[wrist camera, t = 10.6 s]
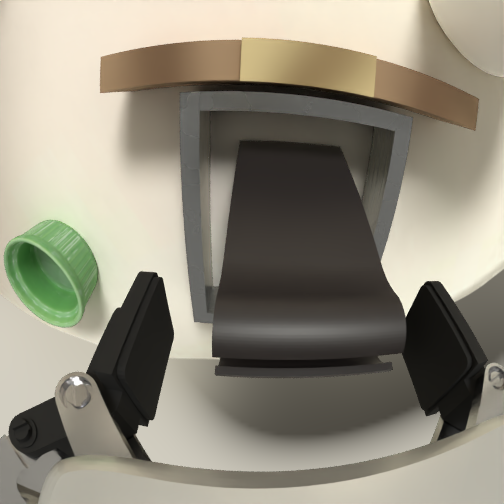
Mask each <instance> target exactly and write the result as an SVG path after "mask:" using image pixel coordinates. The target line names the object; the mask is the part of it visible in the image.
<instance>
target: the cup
mask: <svg viewBox="0 0 504 504" xmlns="http://www.w3.org/2000/svg"><path fill="white" fill-rule="evenodd" d="M429 3H430V6H431V8H432V11H433V13H434V15H435V17H436V19H437V21H438V23H439V24H440V26H441V28H442V29H443V31H444V33H445V34H446V35H447V37H448V38H449V40H450V41H451V42H452V43H453V45H454V46H455V47H456V48H457V49H458V51H459V52H460V53H461V54H462V55H463V56H464V57H465V58H466V59H467V60H469V61H470V62H471V63H472V64H474V65H475V66H476V67H478V68H479V69H481V70H482V71H484V72H486V73H488V74H491V75H494V76H498V77H504V0H429Z"/></svg>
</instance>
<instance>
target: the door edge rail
mask: <svg viewBox="0 0 504 504" xmlns="http://www.w3.org/2000/svg"><path fill="white" fill-rule="evenodd" d="M376 58H377V56H373V55H369V54H365V53H361V52H357V51H352V50H348V49H343V48H338V47H333V46H327V45H321V44H315V43H308V42H300V41H291V40H280V39H266V38H242V40H211V41H194V42H183V43H173V44H165V45H158V46H151V47H145V48H139V49H134V50H129V51H124V52H120V53H115V54H111V55H107V56H103V57H101V67H100V93H107V92H125V91H138V90H146V89H154V88H164V87H175V86H190V85H262V86H277V87H289V88H299V89H307V90H315V91H322V92H329V93H335V94H341V95H346V96H352V97H357V98H362V99H366V100H371V101H375V102H379V103H383V104H387V105H391V106H395V107H399V108H402V109H406V110H409V111H413V112H416V113H419V114H422V115H425V116H428V117H431V118H434V119H437V120H440V121H444V122H448V123H451V124H455V125H458V126H462V127H465V128H468V129H471V130H474V131H475V128H476V121H477V112H478V102H479V99H478V98H476V97H474V96H472V95H470V94H468V93H466V92H464V91H462V90H460V89H458V88H456V87H454V86H451V85H449V84H447V83H445V82H442V81H440V80H437V79H435V78H433V77H430V76H428V75H425V74H422V73H420V72H417V71H414V70H411V69H408V68H405V67H402V66H399V65H396V64H393V63H390V62H386V61H383V60H379V59H376Z"/></svg>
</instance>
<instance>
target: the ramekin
mask: <svg viewBox="0 0 504 504" xmlns="http://www.w3.org/2000/svg"><path fill="white" fill-rule="evenodd" d="M4 265H5V270H6V273H7V276H8V279H9V281H10V284H11V286H12V288H13V289H14V291H15V293H16V294H17V296H18V297H19V298H20V300H21V301H22V302H23V303H24V304H25V306H26V307H27V308H28V309H29V310H30V311H32V312H33V313H34V314H35V315H36V316H38V317H39V318H40V319H42V320H44V321H46V322H47V323H49V324H52V325H55V326H58V327H72V326H74V325H76V324H77V323H78V322H79V321H80V320H81V318H82V316H83V313H84V309H85V305H86V303H87V301H88V299H89V297H90V296H91V294H92V292H93V290H94V288H95V285H96V282H97V275H98V270H97V265H96V261H95V258H94V256H93V254H92V251H91V250H90V248H89V246H88V245H87V243H86V242H85V240H84V239H83V238H82V237H81V236H80V235H79V234H78V233H77V232H76V231H75V230H74V229H72V228H71V227H70V226H68V225H66V224H64V223H62V222H60V221H56V220H47V221H43V222H41V223H39V224H38V225H36V226H34V227H33V228H31V229H30V230H29V231H27V232H26V233H24V234H23V235H21V236H17V237H16V238H14V239H12V240H11V241H10V242H9V243H8V244H7V246H6V248H5V252H4Z"/></svg>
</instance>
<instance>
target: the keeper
mask: <svg viewBox="0 0 504 504" xmlns="http://www.w3.org/2000/svg"><path fill="white" fill-rule="evenodd" d="M210 111H257V112H274V113H286V114H297V115H306V116H315V117H322V118H329V119H336V120H342V121H348V122H354V123H360V124H365V125H370V126H374V132H373V139H372V146H371V152H370V159H369V165H368V171H367V176H366V182H365V187H364V193H363V198H362V204H363V207H364V210H365V213H366V216H367V219H368V222H369V225H370V228H371V231H372V234H373V238H374V241H375V244H376V247H377V251H378V254H379V258H380V261H381V258H382V255H383V252H384V249H385V245H386V242H387V239H388V235H389V232H390V228H391V224H392V221H393V217H394V213H395V209H396V205H397V201H398V197H399V193H400V188H401V184H402V179H403V174H404V169H405V164H406V159H407V153H408V147H409V141H410V135H411V128H412V121H413V118H412V117H409V116H405V115H402V114H398V113H394V112H390V111H386V110H382V109H378V108H374V107H369V106H364V105H360V104H355V103H349V102H344V101H338V100H332V99H325V98H318V97H311V96H302V95H293V94H282V93H268V92H248V91H201V92H181V93H180V155H181V182H182V201H183V216H184V230H185V242H186V253H187V264H188V274H189V283H190V292H191V300H192V308H193V316H194V322H201V323H213V317H214V308H215V301H216V296H217V292H218V289H219V287H214V286H213V277H212V253H211V222H210Z"/></svg>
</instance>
